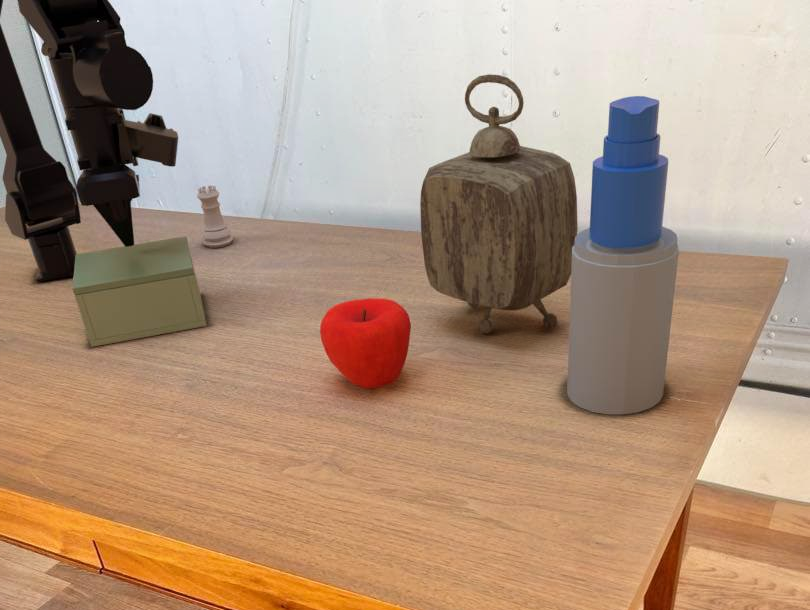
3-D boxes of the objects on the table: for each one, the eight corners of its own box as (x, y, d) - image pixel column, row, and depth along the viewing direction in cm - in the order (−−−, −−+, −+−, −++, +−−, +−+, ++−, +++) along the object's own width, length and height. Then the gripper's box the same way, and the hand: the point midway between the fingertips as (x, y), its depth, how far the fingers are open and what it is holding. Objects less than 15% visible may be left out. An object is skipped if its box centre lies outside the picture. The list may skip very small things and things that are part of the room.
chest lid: (77, 260, 104) (75, 254, 104) (187, 242, 107) (186, 235, 106) (74, 295, 96) (72, 288, 95) (194, 274, 98) (192, 267, 97)
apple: (311, 391, 86) (298, 317, 81) (362, 355, 91) (353, 285, 87) (382, 409, 81) (373, 333, 77) (431, 371, 87) (426, 298, 82)
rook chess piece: (198, 247, 126) (185, 192, 121) (214, 237, 129) (202, 183, 124) (223, 249, 124) (211, 192, 120) (239, 239, 128) (227, 183, 123)
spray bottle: (575, 367, 85) (586, 90, 70) (667, 373, 82) (699, 87, 67) (558, 410, 78) (566, 115, 63) (657, 418, 76) (691, 112, 61)
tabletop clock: (574, 326, 93) (583, 69, 78) (524, 357, 88) (523, 89, 73) (471, 300, 101) (462, 63, 86) (421, 327, 96) (401, 81, 81)
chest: (94, 314, 108) (78, 266, 104) (200, 295, 110) (189, 247, 106) (91, 347, 100) (74, 295, 96) (206, 326, 102) (194, 274, 98)
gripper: (166, 106, 87) (202, 257, 96) (160, 80, 101) (192, 214, 111) (55, 122, 85) (102, 274, 94) (65, 93, 99) (105, 228, 109)
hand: (129, 245), depth 102 cm, fingers closed
